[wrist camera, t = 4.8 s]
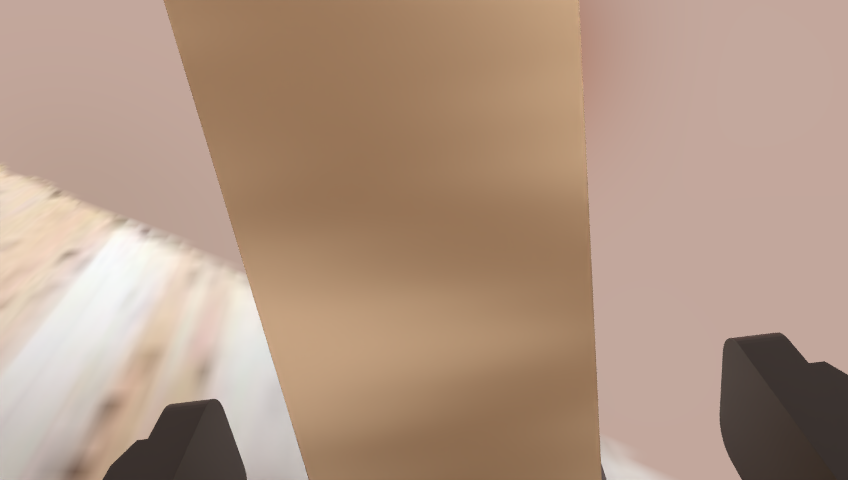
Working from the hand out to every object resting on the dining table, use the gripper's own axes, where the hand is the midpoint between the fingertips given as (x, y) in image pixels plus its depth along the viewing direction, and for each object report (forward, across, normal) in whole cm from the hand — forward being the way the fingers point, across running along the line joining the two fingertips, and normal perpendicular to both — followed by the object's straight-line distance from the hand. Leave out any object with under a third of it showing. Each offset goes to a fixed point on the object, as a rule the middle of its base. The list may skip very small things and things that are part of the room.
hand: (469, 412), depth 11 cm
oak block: (-1, 0, +11) cm, 11 cm away
